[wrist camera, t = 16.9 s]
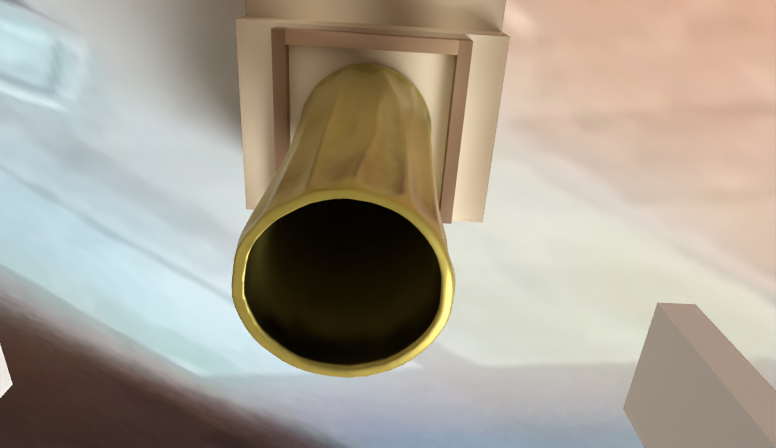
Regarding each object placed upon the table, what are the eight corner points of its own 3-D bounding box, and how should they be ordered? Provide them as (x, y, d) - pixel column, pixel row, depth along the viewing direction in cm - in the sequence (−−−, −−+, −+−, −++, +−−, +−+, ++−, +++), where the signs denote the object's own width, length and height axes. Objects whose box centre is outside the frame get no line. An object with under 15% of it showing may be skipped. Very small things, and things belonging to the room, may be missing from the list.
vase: (274, 129, 25) (157, 292, 12) (364, 32, 24) (336, 106, 11) (367, 212, 27) (348, 431, 14) (457, 129, 25) (530, 292, 12)
